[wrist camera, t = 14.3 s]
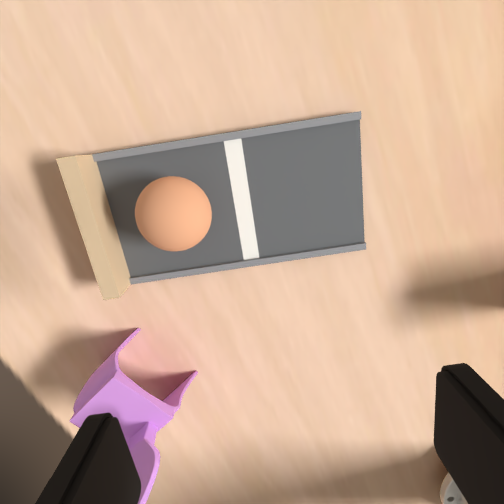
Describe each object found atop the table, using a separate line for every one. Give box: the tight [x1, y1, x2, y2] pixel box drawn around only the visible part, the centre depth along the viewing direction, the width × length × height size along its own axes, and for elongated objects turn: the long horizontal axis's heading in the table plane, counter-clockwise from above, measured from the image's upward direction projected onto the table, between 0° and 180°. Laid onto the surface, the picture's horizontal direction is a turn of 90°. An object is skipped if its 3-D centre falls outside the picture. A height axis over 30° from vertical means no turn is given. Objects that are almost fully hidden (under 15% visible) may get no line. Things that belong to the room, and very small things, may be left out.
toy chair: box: [70, 328, 198, 504], centre depth 28 cm, size 8×9×15 cm
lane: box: [56, 111, 366, 300], centre depth 28 cm, size 24×12×4 cm, turn 99°
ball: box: [135, 176, 212, 251], centre depth 26 cm, size 6×6×6 cm
